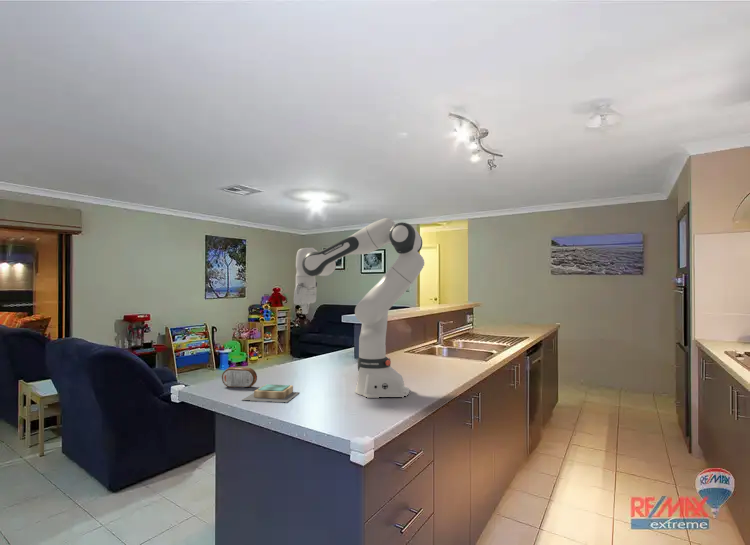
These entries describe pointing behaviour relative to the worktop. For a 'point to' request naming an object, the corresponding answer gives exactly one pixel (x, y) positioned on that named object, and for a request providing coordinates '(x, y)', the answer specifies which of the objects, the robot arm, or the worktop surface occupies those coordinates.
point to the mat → (286, 399)
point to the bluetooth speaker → (239, 377)
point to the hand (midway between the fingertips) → (305, 313)
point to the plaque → (273, 391)
